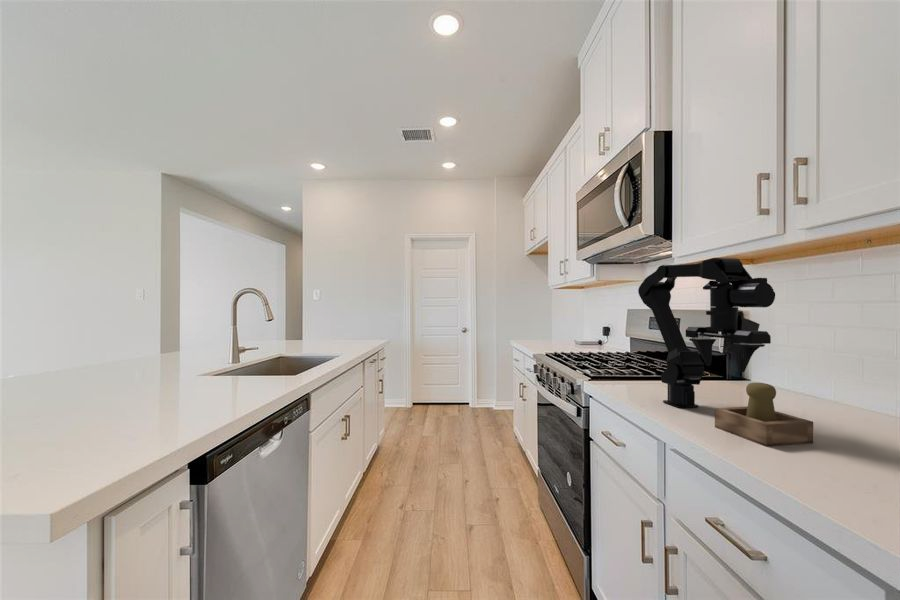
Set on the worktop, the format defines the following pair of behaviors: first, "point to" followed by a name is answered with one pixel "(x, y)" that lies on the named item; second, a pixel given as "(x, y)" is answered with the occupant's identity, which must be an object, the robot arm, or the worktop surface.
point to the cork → (761, 402)
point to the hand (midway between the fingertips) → (724, 368)
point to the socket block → (764, 427)
